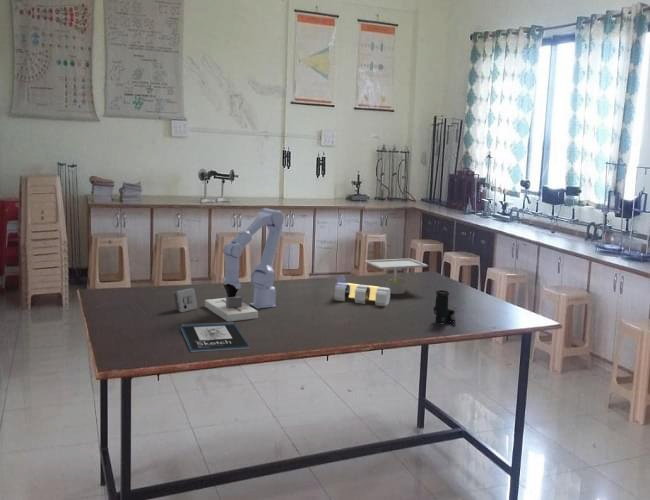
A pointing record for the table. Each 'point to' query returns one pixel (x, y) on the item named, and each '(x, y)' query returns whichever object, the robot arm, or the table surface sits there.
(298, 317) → the table surface
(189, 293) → the electrical switch
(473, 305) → the table surface
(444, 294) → the scope
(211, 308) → the white flat rectangular block
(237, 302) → the fader tab
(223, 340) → the sketchbook
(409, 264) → the solar panel model
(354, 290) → the gray yellow segmented block
